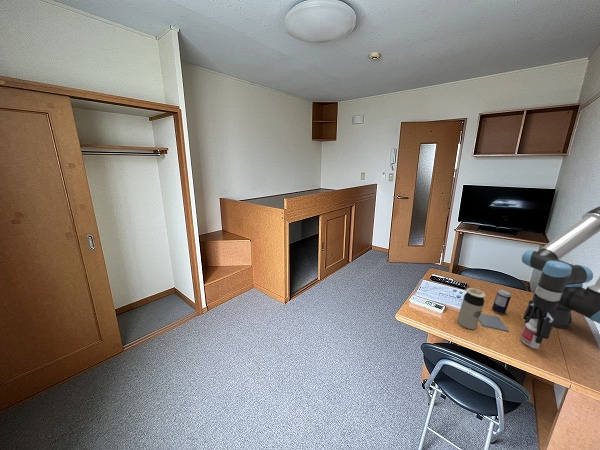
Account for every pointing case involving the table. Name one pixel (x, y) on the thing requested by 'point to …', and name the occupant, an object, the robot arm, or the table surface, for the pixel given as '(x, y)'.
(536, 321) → the pill bottle
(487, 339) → the table surface
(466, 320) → the travel mug
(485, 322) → the coaster
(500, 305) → the beverage can
